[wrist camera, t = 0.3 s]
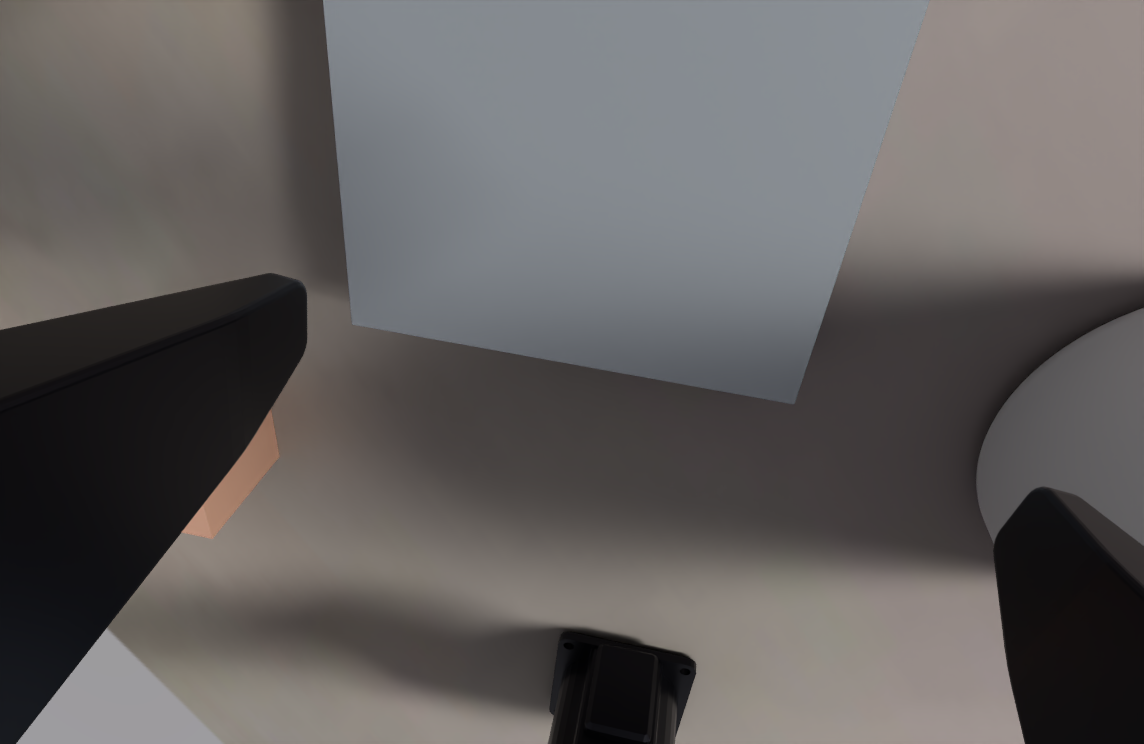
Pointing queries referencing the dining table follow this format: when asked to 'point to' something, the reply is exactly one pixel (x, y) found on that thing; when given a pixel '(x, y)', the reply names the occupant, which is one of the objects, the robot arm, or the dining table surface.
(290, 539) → the dining table surface
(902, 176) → the dining table surface
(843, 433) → the dining table surface
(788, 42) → the slate base
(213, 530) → the terracotta cube
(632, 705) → the robot arm
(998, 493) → the cylinder vase
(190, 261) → the dining table surface
